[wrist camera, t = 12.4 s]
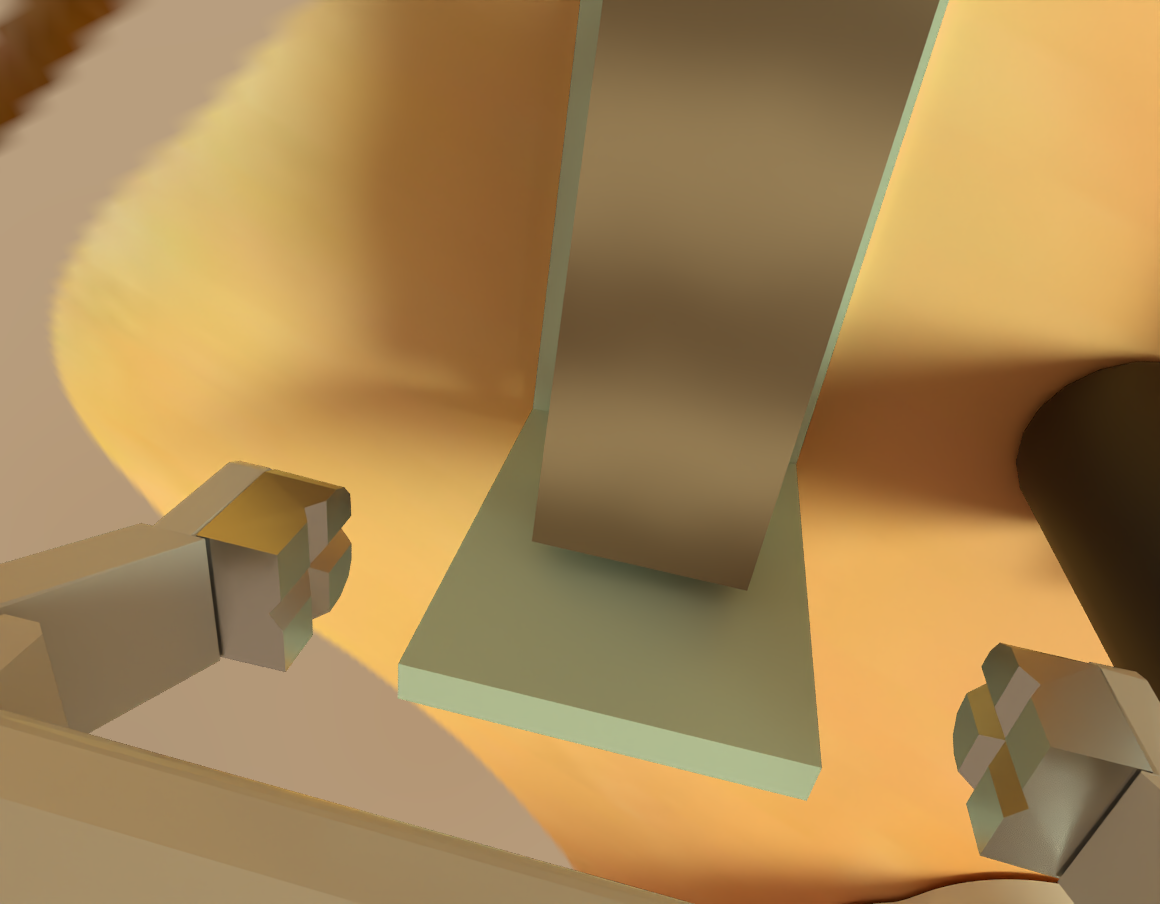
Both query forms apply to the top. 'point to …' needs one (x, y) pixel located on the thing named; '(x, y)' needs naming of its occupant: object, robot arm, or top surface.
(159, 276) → the top surface
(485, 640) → the shelf frame
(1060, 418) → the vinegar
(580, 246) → the plank
